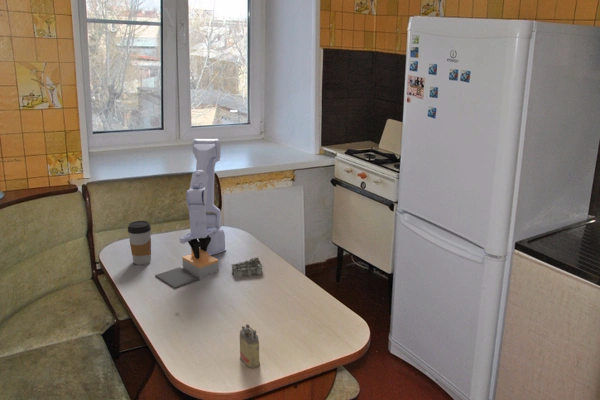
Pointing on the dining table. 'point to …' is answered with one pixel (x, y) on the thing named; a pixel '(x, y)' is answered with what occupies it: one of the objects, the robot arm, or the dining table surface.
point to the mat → (177, 277)
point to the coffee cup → (140, 241)
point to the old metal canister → (249, 347)
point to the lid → (200, 259)
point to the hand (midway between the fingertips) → (200, 256)
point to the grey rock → (247, 267)
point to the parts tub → (201, 269)
